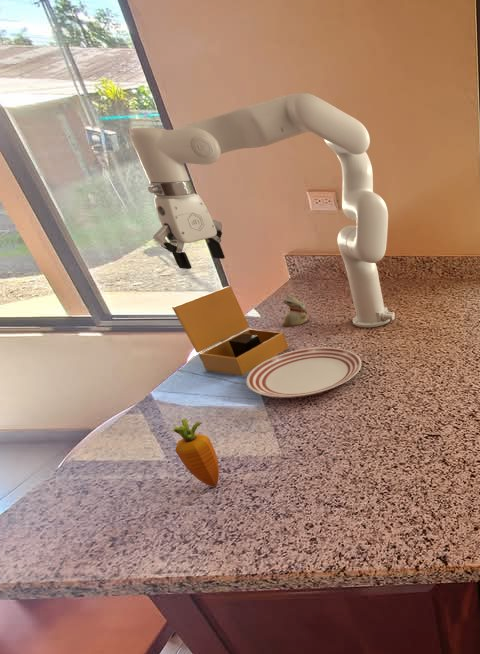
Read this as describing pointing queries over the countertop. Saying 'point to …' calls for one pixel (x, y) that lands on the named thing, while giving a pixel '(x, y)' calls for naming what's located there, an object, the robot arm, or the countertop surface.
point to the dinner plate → (303, 372)
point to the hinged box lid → (211, 318)
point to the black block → (244, 343)
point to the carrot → (197, 454)
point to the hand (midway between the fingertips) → (203, 263)
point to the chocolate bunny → (294, 312)
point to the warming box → (224, 358)
